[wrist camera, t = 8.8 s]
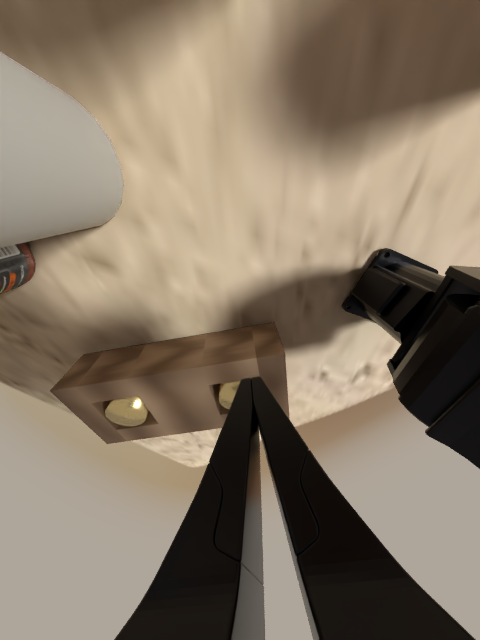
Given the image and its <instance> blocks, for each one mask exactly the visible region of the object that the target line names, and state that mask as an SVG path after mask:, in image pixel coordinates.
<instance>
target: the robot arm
mask: <svg viewBox="0 0 480 640" xmlns="http://www.w3.org/2000/svg"><path fill="white" fill-rule="evenodd" d="M385 253H387V255H386V256H384V255H385ZM445 274H446V276H445V277H444V276H441V275H439V274H438V271H437V270H436V269H434V268H431V267H429V266H427V265H425V264H422V263H420V262H418V261H416V260H414V259H411V258H409V257H407V256H405V255H402V254H400V253H398V252H396V251H393V250H391V249H388V248H385V249H382V250H381V251H380V252H379V254H378V255H377V257H376V258H375V259H374V261H373V262H372V264H371V265H370V266H369V268H368V269H367V271H366V272H365V273H364V275H363V276H362V278H361V279H360V280H359V282H358V283H357V285H356V286H355V288H354V289H353V290H352V292H351V293H350V295H349V296H348V297H347V299H346V300H345V302H344V303H343V305H342V308H343V309H344V310H345V311H347V312H350V313H352V314H355V315H358V316H361V317H364V318H367V319H370V320H373V321H375V322H376V323H377V324H378V325H380V326H381V327H382V328H383V329H384V330H385V331H387V332H388V333H389V334H390V335H391V336H392V337H393V338H395V339H396V340H397V341H398V342H399V343H400V344H401V345H400V347H399V348H398V350H397V352H396V353H395V355H394V356H393V358H392V359H390V360H389V361H388V363H387V366H388V368H389V370H390V373H391V375H392V377H393V383H394V385H395V387H396V389H397V391H398V393H399V394H400V396H399V398H398V399H399V400H400V402H401V403H402V404H403V405H404V406H405V408H406V409H407V410H408V411H409V412H410V413H411V414H413V415H414V416H415V417H416V418H417V419H418V420H419V421H421V422H422V423H424V424H425V425H426V426H428V427H429V428H428V429H426V431H425V433H426V434H427V435H428V436H429V437H431V438H433V439H435V440H437V441H439V442H441V443H443V444H445V445H446V446H448V447H450V448H451V449H453V450H454V451H456V452H457V453H459V454H461V455H462V456H464V457H465V458H466V459H468V460H469V461H470V462H472V463H473V464H474V465H475V466H477V467H478V468H479V469H480V267H464V266H449V268H448V269H447V271H446V273H445ZM348 305H349V306H348ZM347 306H348V307H347ZM346 307H347V308H346ZM259 430H260V434H261V439H262V442H263V446H264V450H265V454H266V458H267V462H268V466H269V470H270V473H271V477H272V481H273V485H274V488H275V493H276V497H277V501H278V504H279V508H280V512H281V516H282V519H283V524H284V527H285V531H286V535H287V539H288V543H289V546H290V551H291V555H292V558H293V562H294V566H295V570H296V574H297V578H298V581H299V586H300V589H301V593H302V597H303V601H304V605H305V609H306V612H307V616H308V621H309V624H310V628H311V632H312V636H313V640H475V639H474V638H473V637H472V636H471V635H470V634H469V633H468V632H467V631H466V630H465V629H464V628H463V627H462V626H461V625H460V624H459V623H458V622H457V621H456V620H454V619H453V618H452V617H451V616H450V615H449V614H448V613H447V612H446V611H445V610H444V609H443V608H442V607H441V606H440V605H439V604H438V603H437V602H436V601H435V600H434V599H432V598H431V596H430V595H428V594H427V593H426V592H425V591H424V590H423V589H422V588H421V587H420V586H419V585H418V584H417V583H416V581H415V580H413V578H412V577H411V576H410V575H409V574H408V573H407V572H406V571H405V570H404V569H403V568H402V566H401V565H400V564H399V563H398V562H397V561H396V560H395V558H394V557H393V556H392V555H391V554H390V553H389V551H388V550H387V549H386V548H385V547H384V545H383V544H382V543H381V542H380V541H379V539H378V538H377V537H376V536H375V534H374V533H373V532H372V531H371V529H370V528H369V527H368V526H367V525H366V523H365V522H364V521H363V520H362V518H361V517H360V516H359V515H358V514H357V512H356V511H355V510H354V509H353V507H352V506H351V505H350V504H349V503H348V501H347V500H346V499H345V498H344V496H343V495H342V494H341V493H340V491H339V490H338V489H337V487H336V486H335V485H334V484H333V482H332V481H331V480H330V478H329V477H328V476H327V474H326V473H325V471H324V470H323V468H322V467H321V466H320V464H319V463H318V461H317V460H316V458H315V457H314V455H313V454H312V452H311V451H310V450H309V449H308V447H307V445H306V444H305V442H304V441H303V439H302V438H301V436H300V435H299V433H298V432H297V430H296V429H295V427H294V426H293V424H292V423H291V421H290V420H289V418H288V417H287V415H286V414H285V412H284V411H283V409H282V408H281V406H280V405H279V403H278V402H277V400H276V399H275V397H274V396H273V394H272V393H271V391H270V390H269V388H268V387H267V385H266V384H265V382H264V381H263V379H262V378H261V377H260V376H256V377H252V378H243V379H241V381H240V383H239V386H238V389H237V391H236V394H235V396H234V399H233V401H232V404H231V407H230V409H229V412H228V414H227V417H226V419H225V422H224V425H223V427H222V430H221V432H220V435H219V437H218V440H217V443H216V445H215V448H214V450H213V453H212V455H211V458H210V461H209V462H210V463H209V464H208V465H207V468H206V471H205V473H204V476H203V478H202V480H201V483H200V485H199V488H198V490H197V493H196V495H195V497H194V499H193V501H192V503H191V505H190V508H189V510H188V512H187V514H186V516H185V518H184V520H183V522H182V524H181V526H180V528H179V530H178V532H177V534H176V536H175V538H174V540H173V542H172V544H171V546H170V548H169V550H168V552H167V554H166V556H165V558H164V560H163V562H162V564H161V566H160V568H159V570H158V572H157V574H156V576H155V578H154V580H153V582H152V584H151V585H150V587H149V589H148V591H147V592H146V594H145V596H144V597H143V599H142V601H141V602H140V604H139V605H138V607H137V609H136V610H135V611H134V613H133V614H132V616H131V617H130V619H129V620H128V621H127V623H126V624H125V626H124V627H123V628H122V630H121V631H120V633H119V634H118V635H117V637H116V638H115V639H114V640H265V619H264V586H263V549H262V512H261V478H260V477H261V476H260V439H259Z"/></svg>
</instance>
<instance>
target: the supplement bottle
mask: <svg viewBox="0 0 480 640" xmlns="http://www.w3.org/2000/svg"><path fill="white" fill-rule="evenodd" d="M34 261H35V260H34V257H33V255H32V253H31V251H30V249H29V247H28V246H27V244H26V243H25V242H24V243H20V244H15V245H11V246H6V247H2V248H0V294H2V293H4V292H7V291H9V290H11V289H14V288H16V287H19V286H20V285H22V284H24V283H26V282H27V281H29V280H30V279H31V277H32V276H33V274H34V271H35V262H34Z"/></svg>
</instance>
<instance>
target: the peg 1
mask: <svg viewBox="0 0 480 640" xmlns="http://www.w3.org/2000/svg"><path fill="white" fill-rule="evenodd" d="M148 412H149V410H148V408H147V407H146V406H145V404H144V403H143V401H142V400H141V399H140V397H139V396H135V397H128V398H122V399H115V400H111V402H110V403H109V405H108V407H107V408H106V410H105V415H106V417H107V418H108V419H109V420H110V421H112V422H114V423H116V424H119V425H122V426H137V425H140V424H142V423H143V422H144V421H145V420H146V417H147V414H148Z"/></svg>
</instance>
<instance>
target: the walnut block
mask: <svg viewBox="0 0 480 640" xmlns="http://www.w3.org/2000/svg"><path fill="white" fill-rule="evenodd" d="M256 376H260V377H261V378H262V379H263V381H264V382H265V384H266V385H267V387H268V388H269V390H270V391H271V393H272V394H273V396H274V397H275V399H276V400H277V402H278V403H279V405H280V406H281V408H282V409H283V411H284V412H285V414H286V415H287V417H288V418H289V405H288V391H287V377H286V362H285V352H284V350H283V347H282V344H281V341H280V338H279V335H278V332H277V329H276V327H275V324H274V322H273V323H267V324H261V325H255V326H249V327H243V328H238V329H232V330H226V331H220V332H214V333H208V334H202V335H196V336H190V337H184V338H178V339H172V340H166V341H161V342H155V343H149V344H143V345H137V346H131V347H125V348H119V349H113V350H107V351H101V352H95V353H90V354H84V355H83V356H82V357H81V358H80V359H79V360H78V361H77V362H76V363H75V364H74V366H73V367H72V368H71V369H70V370H69V371H68V372H67V373H66V374H65V375H64V376H63V377H62V378H61V380H60V381H59V382H58V383H57V384H56V385H55V386H54V387H53V388H52V389H51V390H50V391H51V392H52V393H53V394H54V395H55V396H56V397H57V398H58V399H59V400H60V401H61V402H62V403H64V404H65V405H66V406H67V407H68V408H69V409H70V410H71V411H72V412H73V413H74V414H75V415H76V416H78V417H79V418H80V419H81V420H82V421H83V422H84V423H85V424H86V425H87V426H88V427H89V428H90V429H92V430H93V431H94V432H95V433H96V434H97V435H98V436H99V437H101V439H102V440H104V441H105V442H106V443H107V444H110V443H117V442H124V441H131V440H138V439H145V438H152V437H160V436H167V435H174V434H181V433H188V432H195V431H202V430H210V429H217V428H222V427H223V425H224V422H225V419H226V417H227V414H228V412H229V409H226V408H225V407H223V406H222V405H221V404H220V402H219V386H220V383H226V382H232V381H239V380H241V379H243V378H252V377H256ZM135 396H139V397H140V399H141V400H142V401H143V403H144V404H145V406H146V407H147V408H148V410H149V412H148V414H147V417H146V420H145V421H144V422H143V423H142V424H140V425H137V426H122V425H119V424H116V423H114V422H112V421H110V420H109V419H108V418H107V417H106V415H105V410H106V408H107V407H108V405H109V403H110V402H111V400H115V399H122V398H128V397H135Z"/></svg>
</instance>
